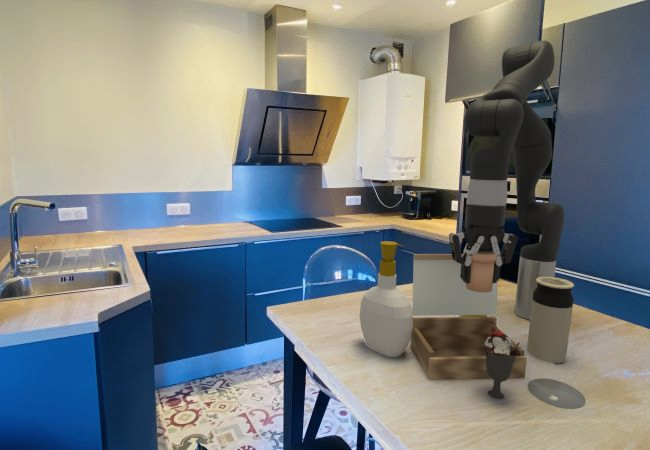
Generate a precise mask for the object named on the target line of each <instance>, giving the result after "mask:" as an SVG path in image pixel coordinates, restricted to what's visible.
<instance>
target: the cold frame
mask: <svg viewBox="0 0 650 450" xmlns="http://www.w3.org/2000/svg"><path fill="white" fill-rule="evenodd" d="M490 321H494V324H495V325H496V326H497V321H498V319H497V317H496V316H487V317H459V316H449V317H448V316H446V317H445V316H444V317H441V316H440V317H430V316H429V317H428V316H427V317H413V328H412V334H411V339H410V342H409V348H410V350H411V351H412V353H413V355H414V357H415V358H416V360H417V362H418V363H419V365H420V367H421V369H422V370H423V371H424V373H425V375H426V377H427V378H428V380H429V381H440V380H442V381H445V380H447V381H449V380H487V379H488V380H490V379H491V380H493V379H492V378H491V377H490V376H489V375H488V373H487V368H486V354H485V351H484V348H483V347H482V344H483V343H484V342H485V341H486V339H487V338H488V337H490V336H491V335H490V332H492V331H493V330H494V326H495V325H494V326H493V323H492V324H491V323H490ZM496 326H495V331H494V332H496V333H497V332H498V330H499V331H501V332H502V333H503V334H505V333H504V331H502V330H501V329H499V328H498V327H497V328H498V330H497V328H496ZM517 344H518V343H516V342H515V341H514V340H512V345H515V346H516V345H517ZM517 347H518V348H519V349H520V354H521V356H518V357H515V360H514V363H513V367H512V371H511V374H510V377H509V378H508V379H525V378H526V377H525V376H526V369H527V368H526V367H527V359H528V358H527V357H526V356H525V352H526V351H525V350H524V349H523V348H522V347H521V346H519V345H518V346H517Z"/></svg>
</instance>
